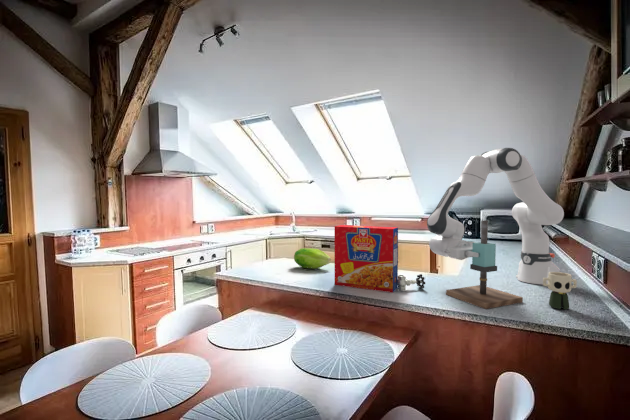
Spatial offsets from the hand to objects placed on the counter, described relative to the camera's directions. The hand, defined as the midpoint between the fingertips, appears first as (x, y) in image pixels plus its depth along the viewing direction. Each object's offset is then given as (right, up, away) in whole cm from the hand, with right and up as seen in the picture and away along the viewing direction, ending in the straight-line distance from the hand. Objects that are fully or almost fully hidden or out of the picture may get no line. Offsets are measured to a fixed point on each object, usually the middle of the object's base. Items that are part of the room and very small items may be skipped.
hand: (485, 254), depth 139 cm
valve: (-27, -18, +16) cm, 36 cm away
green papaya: (-71, -16, +59) cm, 94 cm away
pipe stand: (0, -18, +2) cm, 18 cm away
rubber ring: (0, -6, +1) cm, 7 cm away
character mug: (+22, -19, -10) cm, 31 cm away
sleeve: (0, -4, +1) cm, 5 cm away
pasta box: (-46, -18, +21) cm, 53 cm away
